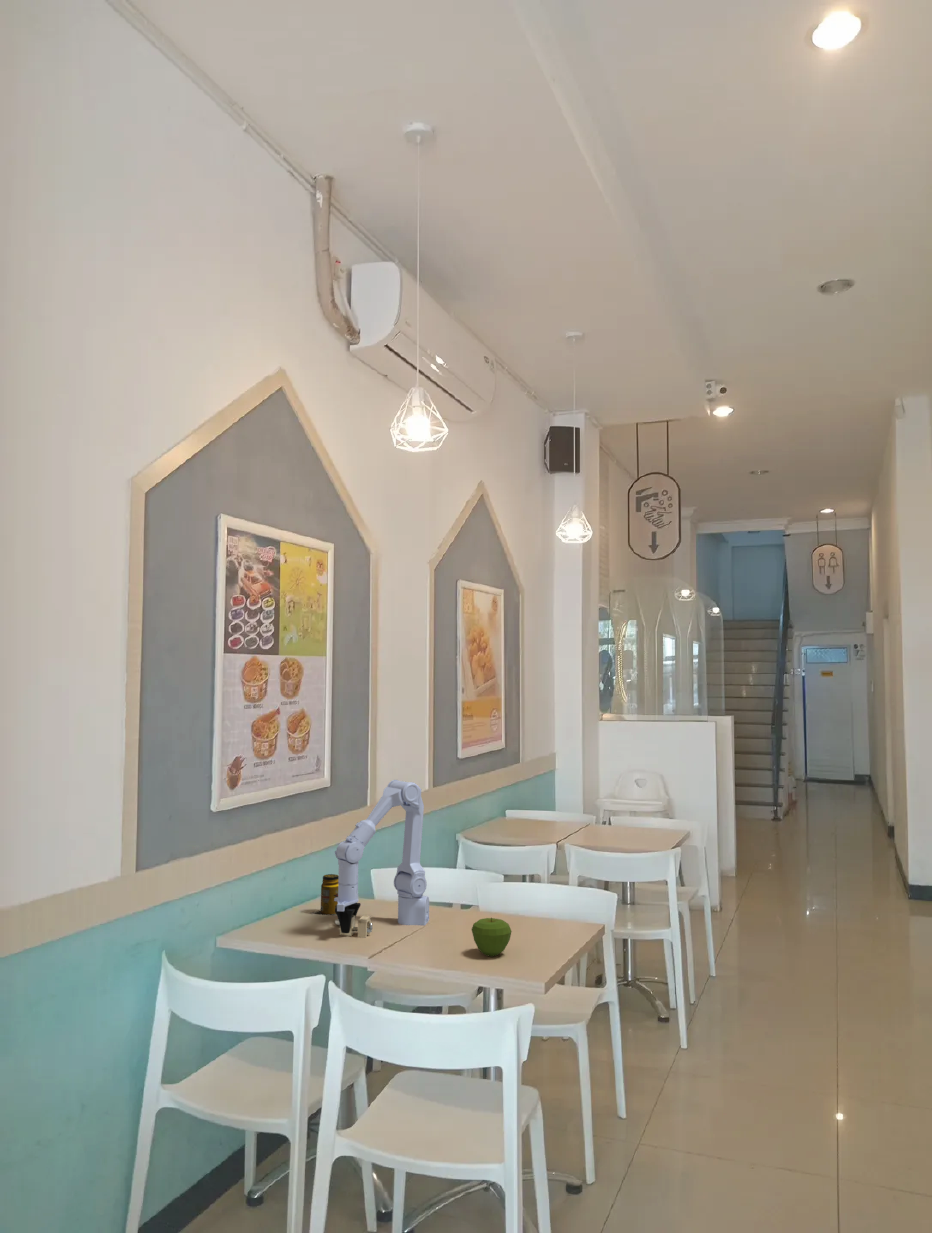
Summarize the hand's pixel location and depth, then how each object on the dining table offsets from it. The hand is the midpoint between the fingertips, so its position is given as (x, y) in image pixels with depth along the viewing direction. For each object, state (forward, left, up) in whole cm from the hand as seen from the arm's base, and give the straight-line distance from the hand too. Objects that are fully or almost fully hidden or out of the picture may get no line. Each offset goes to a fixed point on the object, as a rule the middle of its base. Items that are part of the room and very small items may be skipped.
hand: (347, 930), depth 262 cm
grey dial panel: (0, -4, -2) cm, 5 cm away
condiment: (+14, -25, -2) cm, 29 cm away
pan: (+5, -11, 0) cm, 12 cm away
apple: (-44, +8, -2) cm, 44 cm away
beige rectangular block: (-3, 0, -1) cm, 3 cm away
